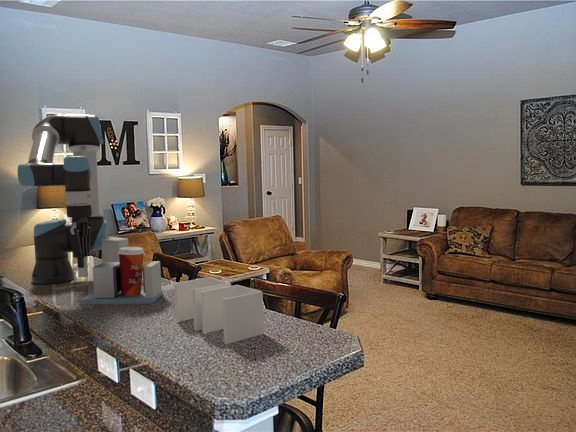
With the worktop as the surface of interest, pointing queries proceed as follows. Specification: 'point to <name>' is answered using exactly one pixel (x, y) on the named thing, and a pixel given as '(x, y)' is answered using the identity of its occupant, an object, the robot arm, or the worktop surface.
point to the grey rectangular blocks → (220, 308)
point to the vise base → (147, 295)
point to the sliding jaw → (107, 280)
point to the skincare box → (112, 248)
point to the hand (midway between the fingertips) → (83, 276)
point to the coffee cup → (131, 270)
